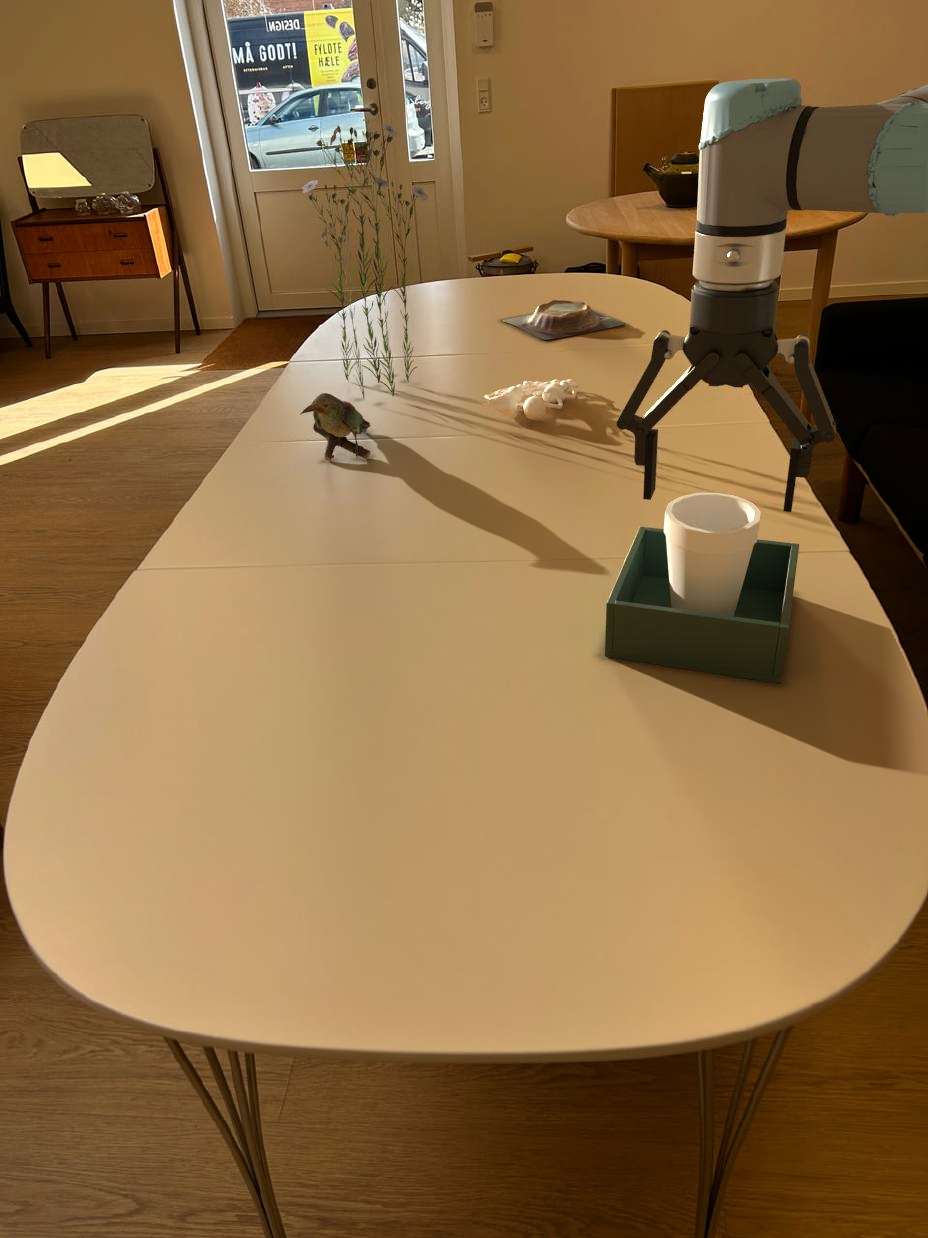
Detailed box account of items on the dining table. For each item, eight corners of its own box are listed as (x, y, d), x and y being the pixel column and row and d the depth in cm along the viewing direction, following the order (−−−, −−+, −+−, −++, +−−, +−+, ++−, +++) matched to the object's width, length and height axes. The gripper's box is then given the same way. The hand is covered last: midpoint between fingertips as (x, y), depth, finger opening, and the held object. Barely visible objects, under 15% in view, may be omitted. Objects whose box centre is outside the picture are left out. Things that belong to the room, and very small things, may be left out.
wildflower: (345, 369, 186) (314, 114, 162) (455, 373, 180) (439, 109, 156) (299, 408, 168) (256, 127, 144) (419, 414, 162) (395, 122, 138)
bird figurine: (335, 423, 158) (300, 340, 140) (391, 426, 156) (362, 343, 138) (316, 489, 153) (277, 411, 135) (374, 493, 150) (341, 415, 133)
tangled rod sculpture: (528, 387, 174) (526, 365, 172) (598, 392, 167) (597, 368, 165) (471, 418, 161) (469, 394, 159) (544, 424, 153) (543, 399, 151)
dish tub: (791, 595, 106) (799, 543, 103) (779, 683, 92) (788, 628, 89) (637, 575, 112) (639, 526, 108) (604, 656, 98) (606, 603, 94)
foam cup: (666, 592, 107) (673, 488, 100) (749, 603, 104) (763, 496, 97) (651, 637, 99) (659, 527, 92) (741, 649, 96) (756, 537, 89)
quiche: (580, 306, 218) (580, 288, 216) (628, 325, 202) (628, 306, 200) (500, 320, 211) (499, 302, 209) (542, 341, 195) (542, 322, 193)
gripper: (587, 288, 84) (586, 504, 95) (889, 292, 76) (849, 528, 87) (606, 270, 89) (603, 475, 101) (887, 272, 81) (850, 495, 93)
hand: (717, 500), depth 94 cm, fingers open, 13 cm apart
